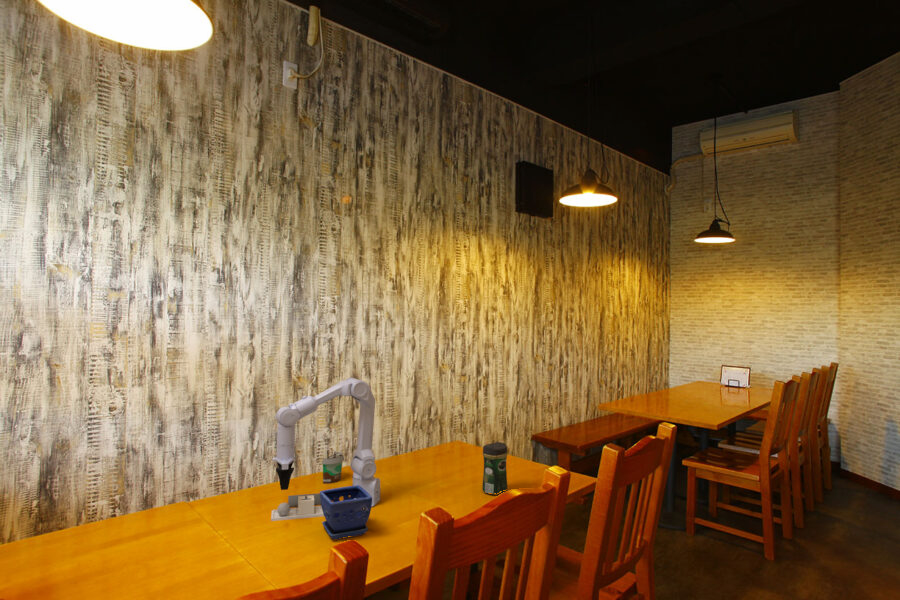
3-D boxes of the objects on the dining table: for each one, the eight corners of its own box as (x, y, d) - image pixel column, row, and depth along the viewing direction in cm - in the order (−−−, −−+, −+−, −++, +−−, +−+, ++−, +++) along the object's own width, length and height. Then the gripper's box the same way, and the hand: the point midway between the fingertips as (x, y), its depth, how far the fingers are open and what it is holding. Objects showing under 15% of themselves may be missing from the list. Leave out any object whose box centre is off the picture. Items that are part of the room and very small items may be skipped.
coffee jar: (494, 486, 205) (495, 439, 206) (510, 491, 200) (511, 442, 200) (478, 492, 198) (479, 443, 199) (494, 497, 193) (495, 447, 193)
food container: (336, 485, 203) (336, 460, 203) (321, 484, 204) (322, 458, 204) (348, 476, 215) (349, 452, 215) (334, 475, 216) (335, 451, 216)
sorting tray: (337, 507, 180) (337, 504, 180) (339, 515, 172) (339, 512, 172) (271, 513, 173) (271, 510, 173) (271, 521, 166) (271, 518, 166)
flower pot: (328, 545, 150) (329, 503, 150) (317, 528, 162) (318, 489, 162) (372, 537, 156) (373, 496, 157) (359, 521, 168) (359, 484, 168)
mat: (319, 495, 192) (319, 493, 192) (321, 505, 181) (321, 503, 181) (288, 497, 189) (288, 495, 189) (288, 508, 178) (288, 506, 178)
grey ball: (292, 513, 172) (292, 501, 172) (285, 518, 168) (286, 505, 169) (281, 512, 173) (281, 500, 173) (274, 517, 169) (275, 504, 169)
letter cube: (313, 510, 176) (313, 494, 176) (313, 515, 171) (314, 499, 171) (297, 511, 175) (298, 496, 175) (298, 516, 170) (298, 501, 170)
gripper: (273, 439, 177) (272, 480, 177) (272, 450, 164) (270, 493, 163) (295, 438, 180) (294, 478, 179) (295, 448, 166) (294, 492, 165)
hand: (284, 485), depth 171 cm, fingers open, 7 cm apart
